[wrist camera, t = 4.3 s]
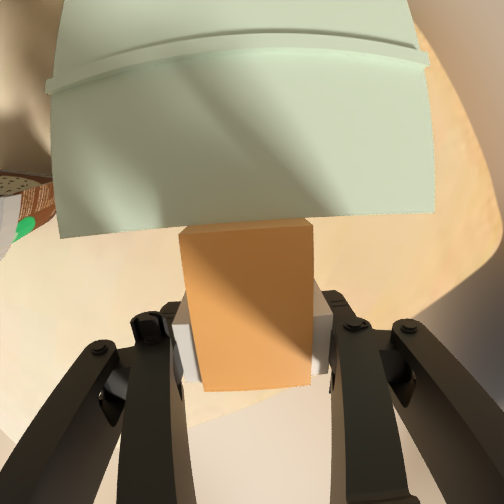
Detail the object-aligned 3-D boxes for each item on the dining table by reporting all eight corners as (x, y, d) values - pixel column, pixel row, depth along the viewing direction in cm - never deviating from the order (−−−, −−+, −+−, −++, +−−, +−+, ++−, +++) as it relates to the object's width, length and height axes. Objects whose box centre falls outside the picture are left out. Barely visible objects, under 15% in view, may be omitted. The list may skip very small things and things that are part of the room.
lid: (101, -71, 7) (84, -95, 4) (353, -90, 7) (366, -116, 4) (106, 348, 13) (82, 383, 10) (404, 328, 13) (432, 360, 10)
